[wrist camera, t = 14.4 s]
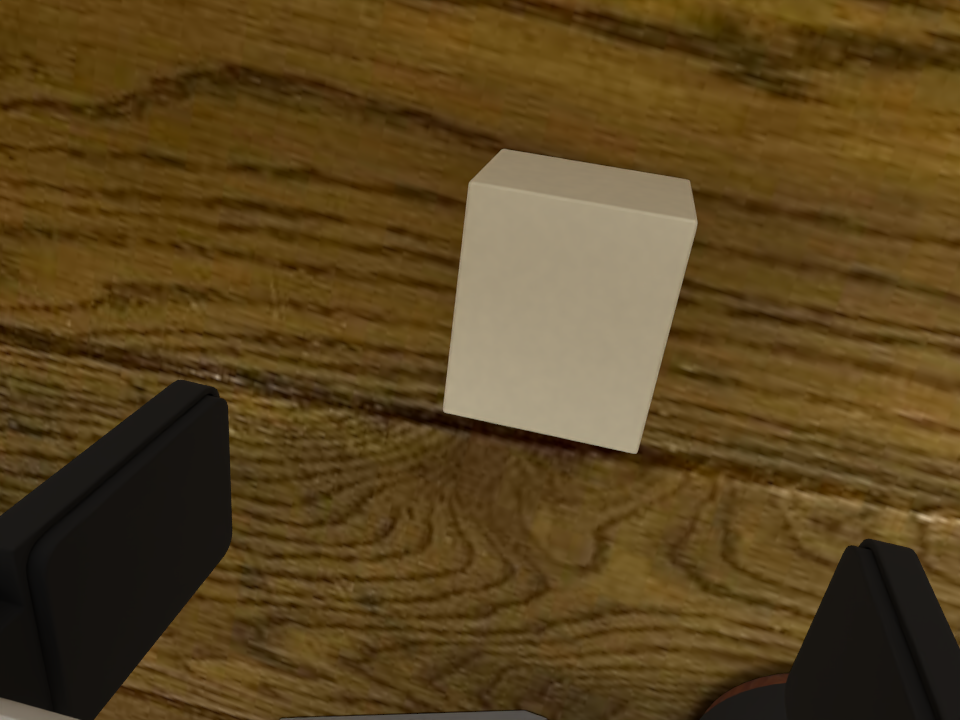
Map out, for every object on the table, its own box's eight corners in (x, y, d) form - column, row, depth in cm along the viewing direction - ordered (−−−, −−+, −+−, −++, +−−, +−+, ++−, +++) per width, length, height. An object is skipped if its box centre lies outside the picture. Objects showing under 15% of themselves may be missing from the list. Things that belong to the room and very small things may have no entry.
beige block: (501, 147, 20) (468, 180, 16) (691, 179, 19) (698, 220, 16) (475, 347, 23) (441, 413, 19) (640, 381, 22) (637, 455, 18)
